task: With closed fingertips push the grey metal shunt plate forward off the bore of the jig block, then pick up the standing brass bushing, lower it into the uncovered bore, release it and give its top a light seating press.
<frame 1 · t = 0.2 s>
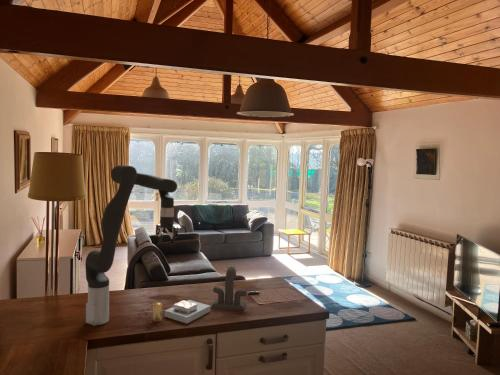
hand: (166, 244, 220), 29 cm above the kitchen counter, fingers open, 8 cm apart
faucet: (229, 304, 212), on the kitchen counter
shunt plate: (185, 306, 194), point 4 cm above the kitchen counter, slide at 0.0 cm
jig: (187, 313, 196), on the kitchen counter
bushing: (157, 320, 188), on the kitchen counter
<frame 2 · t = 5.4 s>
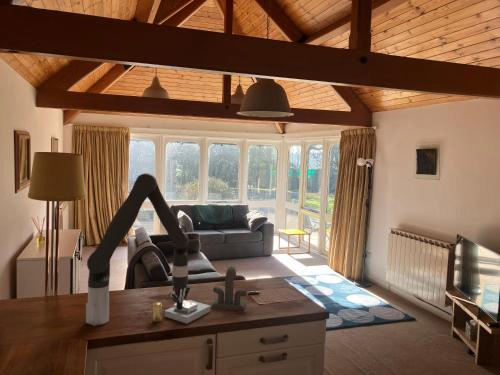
hand: (179, 309, 190), 5 cm above the kitchen counter, fingers closed
shunt plate: (185, 306, 194), point 4 cm above the kitchen counter, slide at 0.2 cm, touching gripper
everything else where it was.
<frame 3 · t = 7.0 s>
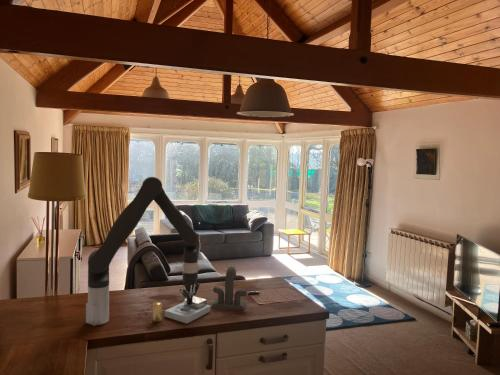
hand: (189, 304, 196), 5 cm above the kitchen counter, fingers closed
shunt plate: (195, 301, 201), point 4 cm above the kitchen counter, slide at 7.7 cm, touching gripper
everything else where it was.
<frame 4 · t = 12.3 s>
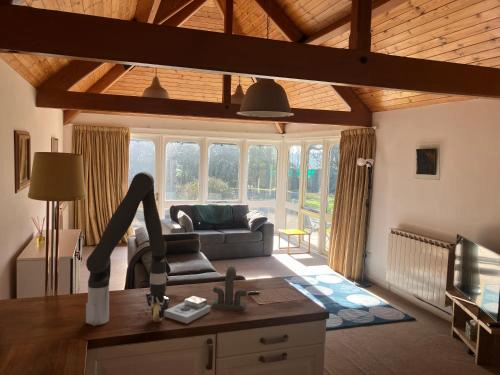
hand: (157, 316, 188), 2 cm above the kitchen counter, fingers closed on bushing, 4 cm apart
shunt plate: (195, 301, 201), point 4 cm above the kitchen counter, slide at 7.9 cm
bushing: (157, 320, 188), on the kitchen counter, touching gripper
everything else where it was.
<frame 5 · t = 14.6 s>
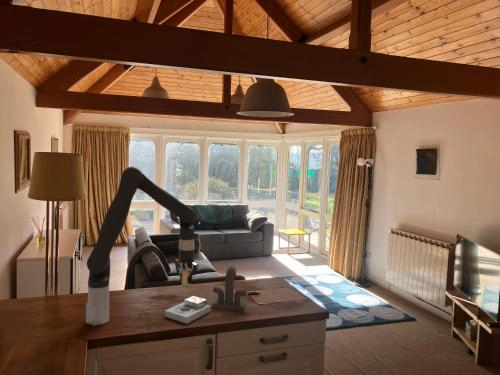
hand: (185, 282, 193), 17 cm above the kitchen counter, fingers closed on bushing, 4 cm apart
bushing: (185, 285, 193), point 15 cm above the kitchen counter, touching gripper
everything else where it was.
when the fingers open (4 cm above the kitchen counter, at t = 17.2 s): bushing drops 2 cm, resting in jig.
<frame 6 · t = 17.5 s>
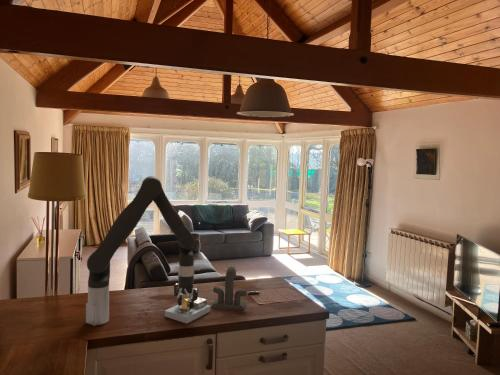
hand: (185, 306, 194), 4 cm above the kitchen counter, fingers open, 6 cm apart
bushing: (185, 315, 194), resting in jig
everything else where it was.
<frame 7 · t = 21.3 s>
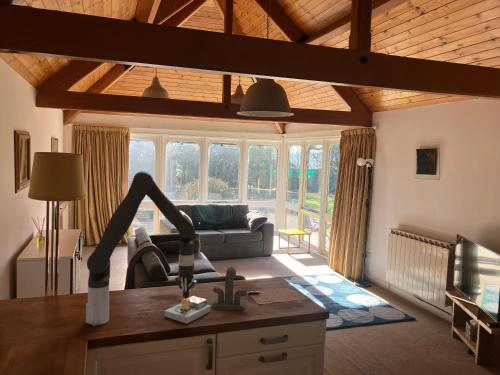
hand: (185, 297, 194), 9 cm above the kitchen counter, fingers closed
nothing on the kitchen counter moved.
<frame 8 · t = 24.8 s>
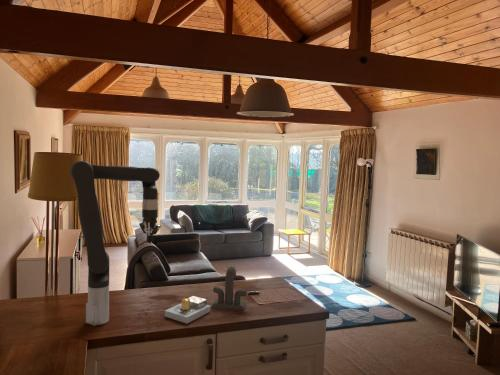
hand: (149, 242, 195), 35 cm above the kitchen counter, fingers closed
nothing on the kitchen counter moved.
at the end: bushing 0.1 cm from the target spot on the jig, point 0.0 cm above the jig's base; bushing tilted 0°; shunt plate slide at 7.9 cm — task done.
